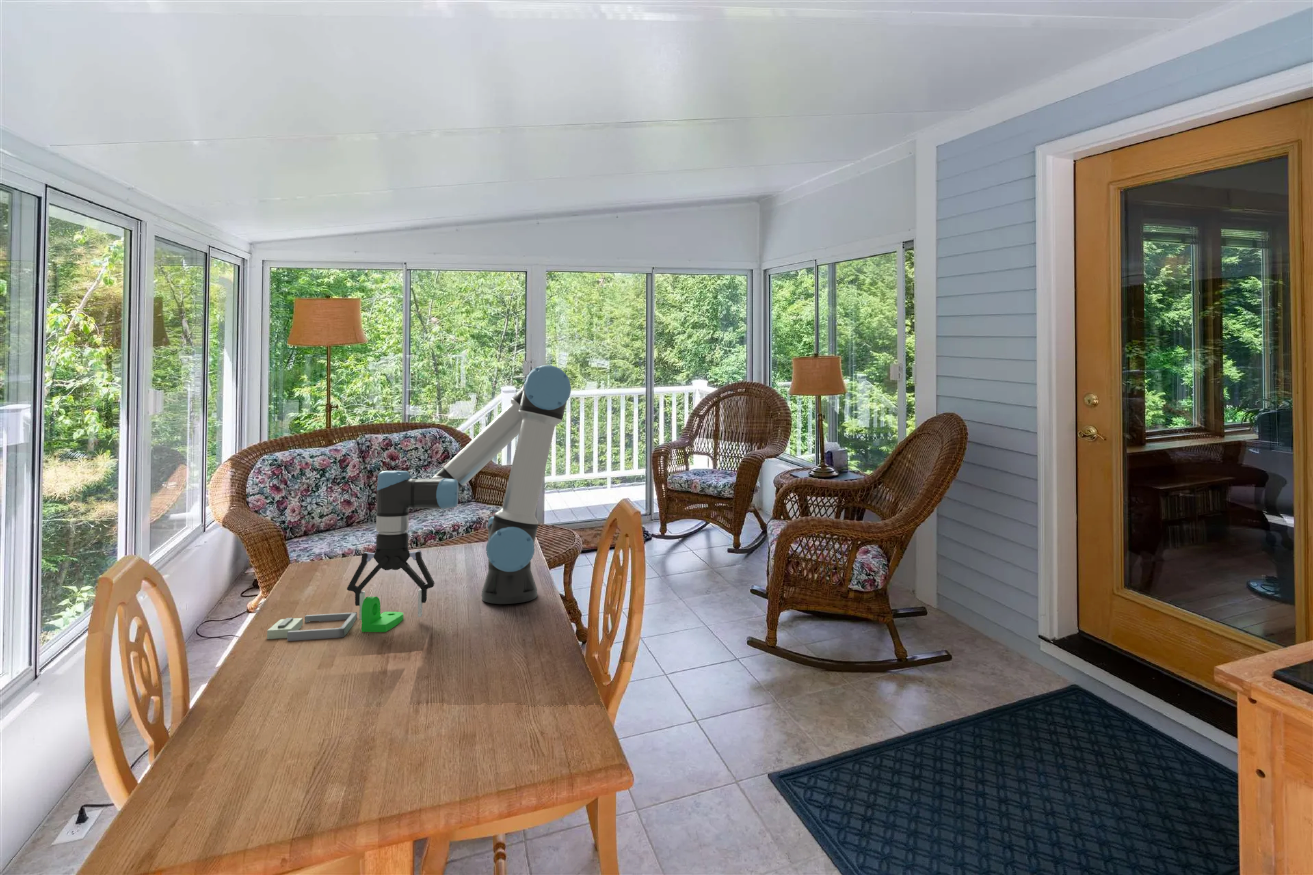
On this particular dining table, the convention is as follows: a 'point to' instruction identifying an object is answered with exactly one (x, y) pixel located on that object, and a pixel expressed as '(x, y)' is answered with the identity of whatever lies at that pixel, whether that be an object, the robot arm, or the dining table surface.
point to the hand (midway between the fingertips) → (391, 617)
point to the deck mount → (291, 630)
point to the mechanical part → (378, 617)
